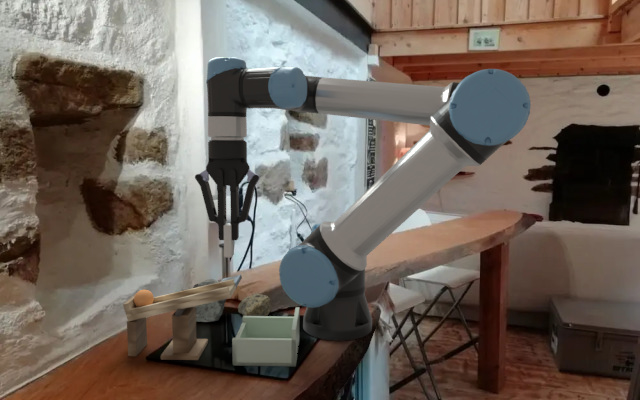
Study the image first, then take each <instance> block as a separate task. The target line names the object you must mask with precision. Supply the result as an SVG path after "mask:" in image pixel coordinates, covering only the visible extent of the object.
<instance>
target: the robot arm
mask: <svg viewBox="0 0 640 400" xmlns="http://www.w3.org/2000/svg"><path fill="white" fill-rule="evenodd" d="M206 69H207V71H206V72H207V73H206V74H207V75H206V76H207V77H206V88H207V89H206V90H207V91H206V92H207V136H208V137H209V138H210V140H209V141H208V142H207V145H208V146H207V149H208V151H207V154H208V156H207V157H208V160H207V161H208V162H207V164H206V167H205V170H203V171H202V172H200V173H197V174H195V175H194V179H195V180H196V182H197V183H198V185H199V187H200V189H201V194H202V197H203V202H204V205H205V209H206V214H207V218H208V220H209V222H213V223H216V224H217V226H218V239H219V241H223V258H233V257H234V254H235V241H237V240H238V239H239V236H240V234H239V233H240V230H239V228H240V227H239V225H240V223H244V222H246V221H247V220H248V218H249V214H250V211H251V210H250V209H251V205H252V202H253V201H252V200H253V197H254V194H255V188H256V185H257V184H258V183H259V180H261V175H260V174H259V173H255V172H254V171H252V170H251V169H250V165H249V163H248V157H247V156H248V154H247V153H248V151H247V149H248V145H247V144H248V143H247V141H246V140H245V138H247V136H248V134H247V131H248V129H247V112H248V111H247V109H276V110H282V111H283V110H284V111H292V112H297V113H302V114H303V113H306V114H307V113H309V114H320V115H321V114H322V115H332V116H340V117H348V118H359V119H366V120H375V121H386V122H394V123H403V124H405V123H406V124H413V125H423V126H429V130H428V131H427V132H426V133H425V134H424V135H423V136H422V137H420V139H419V140H418V141H416V142H415V144H413V145H412V147H410V149H408V151H407V152H405V153H404V154H403V155H402V156H401V157H400V158H399V159H398V160H397V161H396V162H395V163H394V164H393V165H391V166H390V168H389V169H388V170H387V171H385V173H384V174H382V176H380V178H379V179H377V180H376V181H375V182H374V183H373V184H372V185H371V186H370V187H369V188H368V189H367V190H366V191H365V192H364V193H363V194H362V195H361V196H360V197H359V198H358V199H356V200H355V202H354V203H353V204H352V205H351V206H349V207H348V209H346V210H345V212H344V213H342V214H341V215H340V216H339V217H338V218H337V219H336V220H335V221H323V222H322V223H314V224H313V226H312V227H311V233H310V234H309V235H308V236H307V237H306V238H305V239H304V240H303V241H302V242H301V243H299V244H298V245H296V246H293V247H291V248H290V249H289V250H288V251H287V253H285V254H284V256H283V257H282V259H281V261H280V264H279V269H278V273H279V281H280V284H281V287H282V289H283V290H284V293H285V294H286V295H287V296H288V298H289V299H291V301H293V302H294V303H296V304H298V305H300V306H301V307H306V308H305V311H304V314H303V318H302V319H303V321H302V328H303V330H304V332H305V333H306V334H308V335H310V336H311V337H314V338H317V337H318V338H317V339H321V340H327V341H340V342H341V341H342V342H343V341H345V342H346V341H352V340H358V339H361V338H364V337H366V336H369V334H370V333H372V330H373V317H372V314H371V311H370V308H369V303H368V301H367V297H366V295H365V294H366V293H365V291H366V290H365V289H366V288H365V287H366V268H367V265H368V264H367V261H368V260H367V257H368V255H370V253H371V252H373V251H374V250H375V249H376V248H378V246H379V245H381V244H382V243H383V242H384V241H385V240H386V239H387V238H388V237H389V236H390V235H392V233H393V232H394V231H396V230H397V229H398V228H399V227H400V226H401V225H403V224H404V223H405V222H406V221H407V220H408V219H410V217H411V216H412V215H413V214H415V213H416V212H417V211H418V210H419V209H420V208H421V207H422V206H423V205H424V204H425V203H427V202H428V201H429V200H430V199H431V198H432V197H433V196H435V195H436V193H438V192H439V191H440V190H441V189H442V188H443V187H444V186H445V185H447V184H448V183H449V182H450V181H451V180H452V179H453V178H454V177H455V176H456V175H457V174H458V173H460V172H461V171H462V170H463V169H464V168H465V167H480V166H481V165H482V164H483V163H484V162H485V161H487V160H488V159H489V158H490V157H491V156H492V155H493V154H495V153H496V152H497V151H498V150H499V149H500V148H501V147H503V146H504V145H505V144H506V143H507V142H509V141H510V140H512V139H513V138H515V137H516V136H517V135H518V134H519V133H520V132H521V131H522V130H523V128H525V126H526V124H527V122H528V120H529V116H530V113H531V112H530V111H531V106H532V105H531V99H530V98H531V97H530V94H529V92H528V89H527V88H526V86H525V85H524V84H523V82H522V81H521V79H519V78H518V77H516V75H514V74H512V73H511V72H508V71H506V70H502V69H499V68H498V69H497V68H486V69H480V70H478V71H475V72H473V73H471V74H468V75H467V76H466V77H464V78H463V79H462V80H461V81H460V82H454V81H453V82H450V83H449V84H448V85H447V86H436V85H435V86H434V85H424V84H423V85H422V84H411V83H410V84H409V83H397V82H396V83H394V82H384V81H372V80H361V79H360V80H359V79H346V78H335V77H334V78H333V77H322V76H321V77H320V76H311V75H306V74H304V71H303V70H302V69H301V68H300V67H298V66H297V67H296V66H295V67H294V66H285V65H282V66H277V67H275V66H274V67H260V68H257V67H256V68H248V67H247V62H246V60H244V59H243V58H240V57H232V56H230V57H229V56H228V57H226V56H224V57H223V56H221V57H220V56H218V57H213V58H211V59H210V60H208V63H207V68H206ZM246 176H247V178H246V181H247V182H248V184H247V187H246V192H245V195H244V199H243V203H242V208H241V211H240V205H239V204H240V197H239V196H240V195H239V194H240V191H239V189H240V184H241V183H242V182H243V180H244V179H245V177H246ZM210 177H211V180H212V181H213V182H214V183H215V185H216V191H217V208H216V206H215V205H216V204H215V202H214V197H213V193H212V190H211V185H210V183H209V181H210ZM227 186H229V192H230V195H229V196H230V222H227V221H228V219H227ZM240 212H241V213H240Z"/></svg>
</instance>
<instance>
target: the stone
mask: <svg viewBox="0 0 640 400" xmlns="http://www.w3.org/2000/svg"><path fill="white" fill-rule="evenodd" d="M218 282H220V281H219V280H217V279H213V278H210V279H206V280H204V281H202V282H198V283H196V284H194V285H193V287H192V288H197V287H201V286H205V285H209V284H214V283H218ZM226 301H227V299H223V300H219V301H215V302H210V303H206V304H202V305H197V306H196V323H198V322H199V323H200V322H201V323H212V322H216V321H219V320H220V318H221V316H222V315H223V311H224V310H225V305H226V304H225V303H226Z"/></svg>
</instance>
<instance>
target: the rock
mask: <svg viewBox="0 0 640 400" xmlns="http://www.w3.org/2000/svg"><path fill="white" fill-rule="evenodd" d="M237 310H238V311H237V312H238V313H239V314H240V315H242V316H268V315H269V314H270V312H272V303H271V298H270V297H269V296H268V295H266V294H262V293H259V292H257V293H255V294H251V295H249V296H246V297H244V298H243V299H242V300H241V301H240V303H238V305H237Z"/></svg>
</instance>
